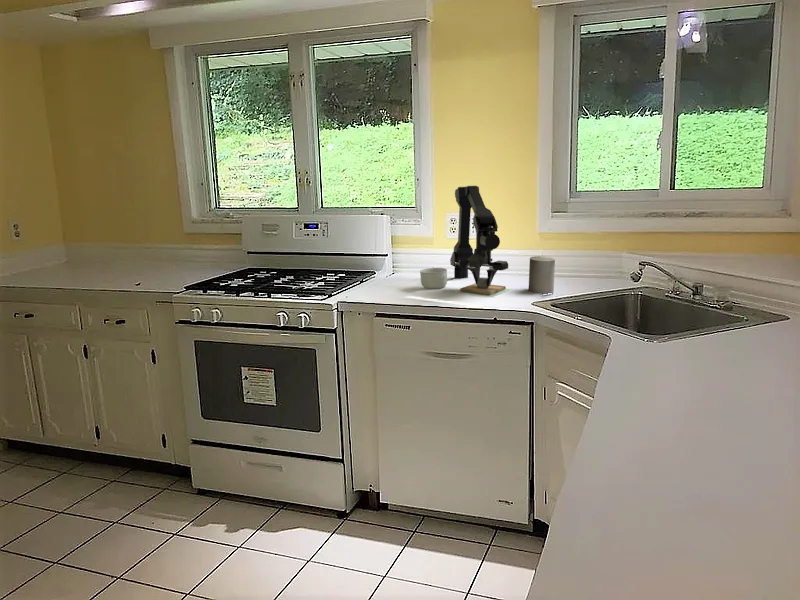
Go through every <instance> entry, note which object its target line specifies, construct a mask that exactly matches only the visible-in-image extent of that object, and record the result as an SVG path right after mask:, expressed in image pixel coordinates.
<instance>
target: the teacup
mask: <svg viewBox="0 0 800 600" xmlns="http://www.w3.org/2000/svg"><path fill="white" fill-rule="evenodd" d="M419 273H420V282H421V286H422V287H423V289H428V290H436V289H437V290H438V289H439V290H440V289H443V288H445V287H446V286H447V284H448V269H447V268H444V267H433V266H432V267H429V268H428V267H427V268H423V269H421V270H420V271H419Z"/></svg>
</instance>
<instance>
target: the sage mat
mask: <svg viewBox="0 0 800 600" xmlns="http://www.w3.org/2000/svg"><path fill="white" fill-rule="evenodd" d="M512 290H513V288H507V287H506V289H504V290H501V291H499V292H496V293H494V294H491V295H487V294H479V293H471V292H463V291H460V289H458V290H456V291H454V293H456V294H462V295H463V294H464V295H470V296H471V295H472V296H479V297H489V298H494V297H496V296H499V295H502V294H504V293H507V292H509V291H512Z"/></svg>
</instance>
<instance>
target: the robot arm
mask: <svg viewBox="0 0 800 600" xmlns="http://www.w3.org/2000/svg"><path fill="white" fill-rule="evenodd" d="M454 198H455V201H456V203H457V205H458V207H459V211H458V212H459V214H458V215H459V216H458V230H457V231H458V237H457V242H456V243H455V245H454V246H453V252H452V254H451V257H450V260H449V262H450V266H452V267H454V271H453V272H454V274H453V275H454V277H451V278H450V279H451V280H455V279H458V280H462V279H468V278H469V271H470V272H471V274H472V276H473V279H474V282H475V283H476V285H477V278H481V276H480V275H481V267H488V269H486V273H487V277H486V278H487V286H488V287H489V286H490V285H492V282H493V279H494V278H495V275H496V274H497V272H498V271H505V270H507V269H509V263H508V260H507V261H506V260H497V261H493V258H492V251H493V250H496V249H497V248H498V247H499V246H500V243H501V239H500V237H499V236H498V234H496V232H498V228H499V227H498V224H497V220H496V217H495V216H494V214H493V212H492V210H491V209H489V208H488V207H486V205H485V203H484V200H483V198H482V195H481V192H480V187H479V186H478V185H467V186H458V187H457V188H456V189H455V190H454ZM471 209H472V211H473V215H474V216H473V218H472V223H473V226H474V229H475V236H476V238H475V239H476V240H475V248H474V249H473V247H472V245H471V244H470V231H471V230H470V228H471V227H470V226H471V212H472V211H471ZM470 278H471V277H470Z"/></svg>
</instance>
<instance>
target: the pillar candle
mask: <svg viewBox="0 0 800 600" xmlns="http://www.w3.org/2000/svg"><path fill="white" fill-rule="evenodd" d="M555 267H556V258H555V257H552V256H545V255H544V256H543V254H541V255H537V256H536V255H534V256H530V257H529V268H528V269H529V271H528V290H527V291H528V292H530V293H536V294H548V293H553V294H554V292H555V291H554V290H555V271H556V270H555Z"/></svg>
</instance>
